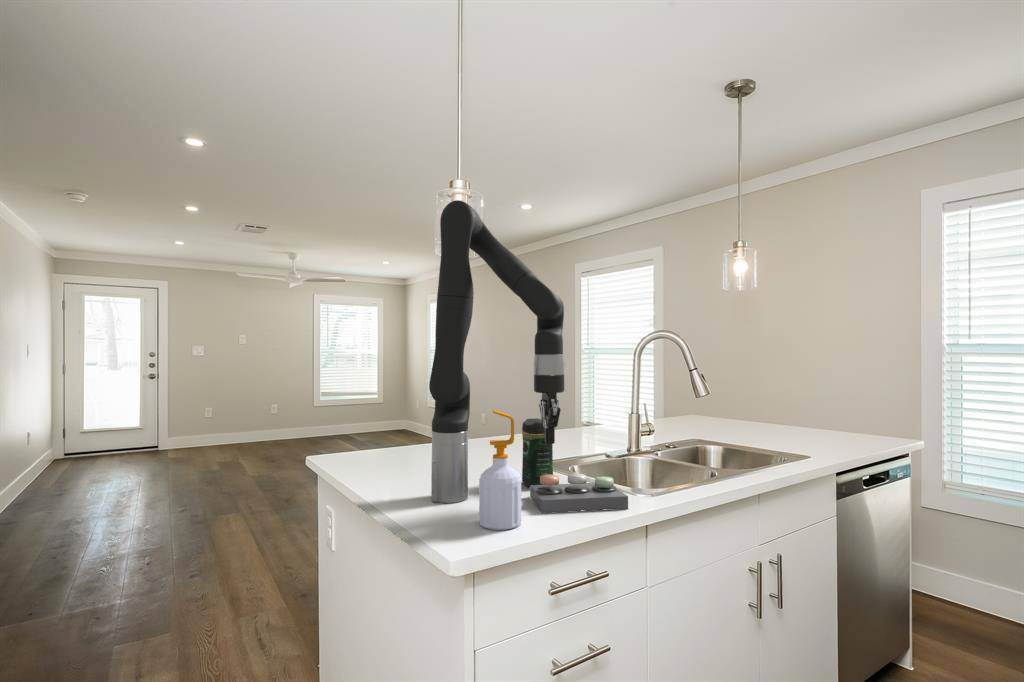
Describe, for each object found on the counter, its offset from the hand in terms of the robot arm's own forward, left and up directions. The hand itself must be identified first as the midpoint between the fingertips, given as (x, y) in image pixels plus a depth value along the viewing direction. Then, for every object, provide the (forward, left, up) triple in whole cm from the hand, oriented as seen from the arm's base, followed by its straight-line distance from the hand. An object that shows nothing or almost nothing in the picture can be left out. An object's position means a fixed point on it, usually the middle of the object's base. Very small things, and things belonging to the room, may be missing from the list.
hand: (549, 443), depth 130 cm
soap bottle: (-14, -13, -15) cm, 24 cm away
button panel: (+7, 0, -15) cm, 16 cm away
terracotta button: (0, 0, -10) cm, 10 cm away
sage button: (+14, 0, -11) cm, 18 cm away
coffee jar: (+1, +19, -15) cm, 24 cm away
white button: (+7, 0, -10) cm, 12 cm away
